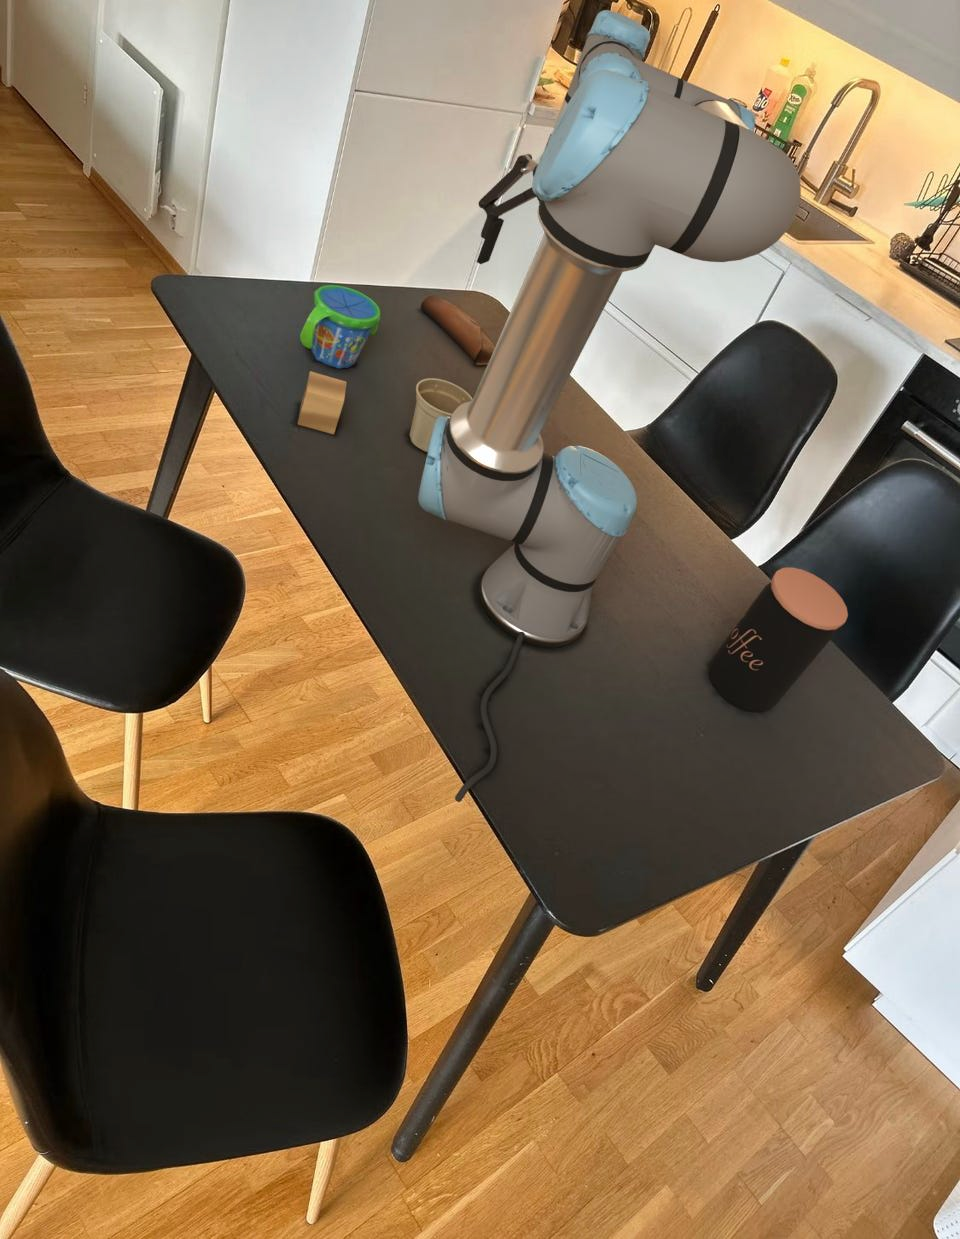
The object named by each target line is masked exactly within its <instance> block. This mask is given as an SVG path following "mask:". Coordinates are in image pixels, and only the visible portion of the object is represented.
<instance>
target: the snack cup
mask: <svg viewBox="0 0 960 1239" xmlns="http://www.w3.org/2000/svg"><path fill="white" fill-rule="evenodd" d="M313 297H314V299H313V301H314V308H313V309H312V311H310V313H309V315H308V317H307V318H306V321H305V322H304V325H303V327H302V330H301V332H300V334H299V339H300V342H301V343H302V345H303V346H304V347H305V348H307V349H311V354H313V356H314V357H315V360H316V361H318V362H321V363H323V364H324V365H326V366H329V367H332V368H335V369H338V370H341V369H348V368H350V367H352V366H354V365H355V364H356V362H357V361H358V359H359V357H360V355H361V352H362V350H363V349H364V347H365V344H366V342H367V340H368V338H369V336H375V335H376V333H377V331H378V328H379V322H380V320H381V309H380V306H378V304H377V303H376V302H375V301H374V300H373V299H372V298H370V297H369V296H367V295H366V294H364V293H362V292H360V291H358V290H356V289H354V288H351V287H347V286H343V285H338V284H337V285H336V284H326V285H322V286H320V287H318V288H317V289H316V290H315V291H314V293H313Z"/></svg>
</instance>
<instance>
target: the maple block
mask: <svg viewBox="0 0 960 1239" xmlns="http://www.w3.org/2000/svg"><path fill="white" fill-rule="evenodd" d="M346 388H347V381H345V380H342V379H339V378H335V377H332V376H329V375H325V374H322V373H318V372H315V371H311V370H310V371H309V374H308V377H307V381H306V384H305V388H304V392H303V395H302V399H301V403H300V407H299V414H298V418H297V425H298V426H301V427H305V428H309V429H313V430H315V431H320V432H324V433H327V434H330V435H335V433H336V429H337V426H338V423H339V420H340V416H341V413H342V410H343V408H344V403H345V397H346V390H347V389H346Z"/></svg>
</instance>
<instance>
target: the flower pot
mask: <svg viewBox="0 0 960 1239" xmlns="http://www.w3.org/2000/svg"><path fill="white" fill-rule="evenodd" d="M415 393H416V394H415V400H416V403H415V408H414V412H413V417H412V421H411V427H410V430H409V437H410V441H411V443H412V444H413V445H414V446H415V447H416V448H418V449H420V450H421V451H423V452H425V453H428V449H429V445H430V441H431V436H432V432H433V428H434V425H435V421H436V419H437V418H438V417H440V416H443V417H447V416H448V417H450V418H451V416H452V414H453V412H454V411H455V410H456V409H457V408H458V407H459V406H460V405H462V404H464V403H466V402H469V401H472V400H473V397H472V396H471V395H470V394H469V393H468V392H467V390H465V389H464V388H462V387H460V386H459V385H457V384H455V383H453V382H450V381H448V380H445V379H441V378H434V377H432V378H431V377H428V378H424V379H421V380H419V381H418V382H417V383H416V385H415Z"/></svg>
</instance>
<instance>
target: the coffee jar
mask: <svg viewBox="0 0 960 1239" xmlns="http://www.w3.org/2000/svg"><path fill="white" fill-rule="evenodd" d="M848 616H849V613H848V607H847V605H846V604H845V602H844V599H843V598H842V597H841V596H840V594H839V593H838V592H837V591H836V590H835V589H834V588H833V587H832V586H831V585H830V584H828V583H827V582H826V581H825V580H823V579H822V578H820V577H819V576H816V575H815V574H813V573H811V572H809V571H807V570H805V569H802V568H801V569H800V568H797V567H793V566H792V567H782V568H779V569H778V570H776V571H775V573H774V575H773V576H772V578H771V580H770V582H769V583H767V584H765V585H764V587H763V589H761V591H760V592H759V594H758V595H757V596H756V598H755V599H754V601H752V603H751V604H750V606H749V607H748V609H747V610H746V611H745V613H744V614H743V616H742V617H741V618H740V619H739V620H738V622H737V623H736V624H735V626H734V628H733V629H732V630H731V632H730V633H729V634H728V636H727V637H726V639H724V641H723V642H722V643H721V645H720V646H719V648H717V650H716V651H715V653H714V654H713V656H712V657H711V659H710V661H709V664H708V665H709V668H708V674H709V680H710V683H711V685H712V687H713V688H714V689H715V691H716V693H717V694H718V695H719V696H720V697H721V698H722V699H723V700H724V701H726V702H727V703H729V704H730V705H732V706H733V707H735V708H737V709H739V710H741V711H744V712H750V713H759V712H765V711H769V710H770V709H771V710H772V708H773V707H775V706H777V704H778V703H779V702H780V701H781V699H782V698H783V697H784V696H785V695H786V693H787V692H788V691H789V690H790V689H791V688H792V686H793V685H794V684H795V683H796V682H797V680H798V679H799V678H800V677H801V676H802V675H803V673H804V672H805V671H806V670H807V668H808V667H809V666H810V665H811V664H812V663H813V662H814V660H815V659H816V658H817V657H818V656H819V654H820V653H821V652H822V651H823V650H824V648H825V647H826V646H827V645H828V644H829V643H830V641H831V640H832V639H833V638H834V637H835V634H836V632H837V629H840V628H841V627H842V626H843V625H844V624H846V622H847V619H848Z"/></svg>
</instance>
